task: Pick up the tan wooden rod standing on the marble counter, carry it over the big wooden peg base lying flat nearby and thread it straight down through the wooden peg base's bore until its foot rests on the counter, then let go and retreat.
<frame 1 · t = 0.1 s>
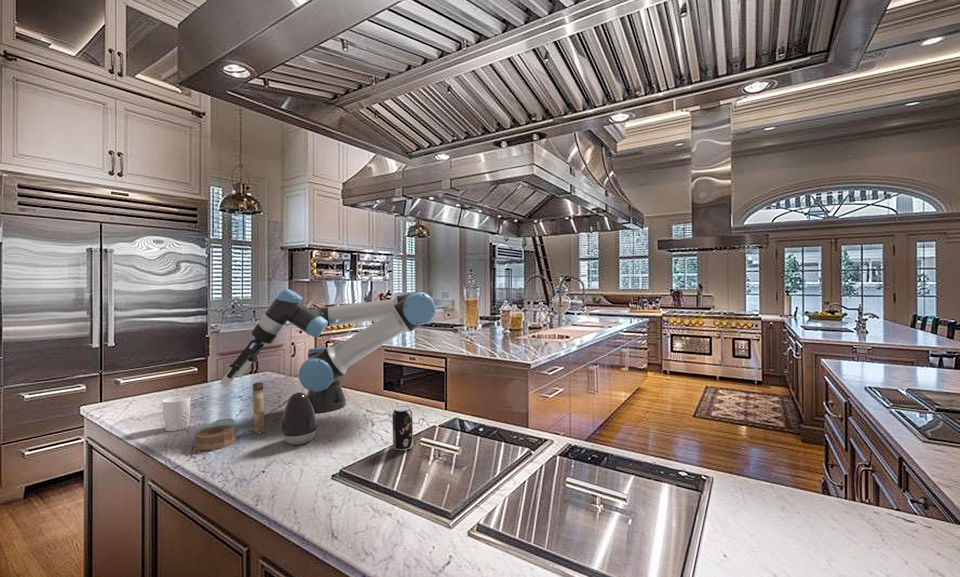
hand: (230, 380, 148), 15 cm above the counter, tool tilted 35°, fingers open, 13 cm apart
small bead: (223, 432, 141), on the counter
wooden peg base: (216, 444, 131), on the counter
tan wooden rod: (259, 431, 141), on the counter
black egg shaped speaker: (300, 442, 132), on the counter
beverage can: (403, 449, 125), on the counter
white cup: (177, 428, 146), on the counter
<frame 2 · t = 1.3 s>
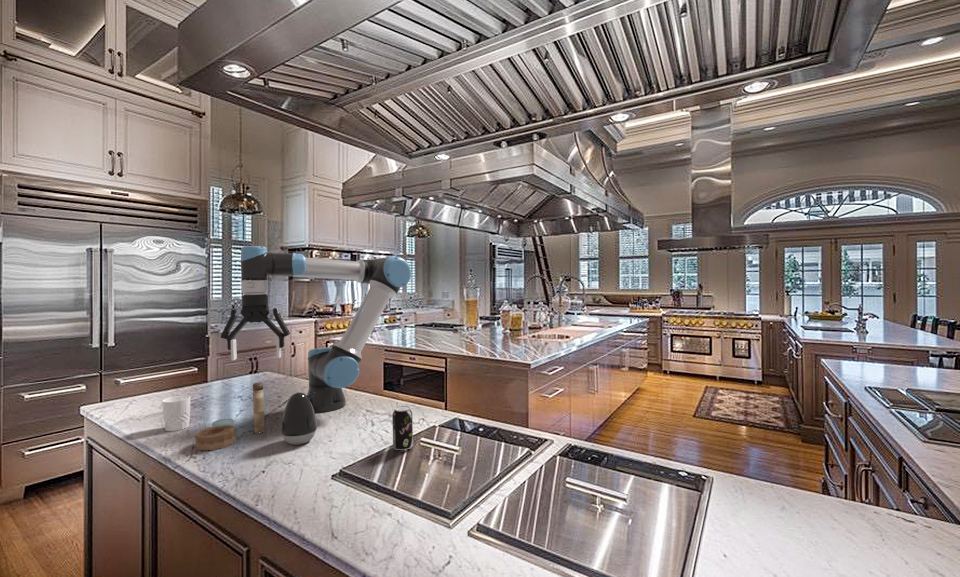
hand: (256, 358, 140), 24 cm above the counter, tool pointing down, fingers open, 13 cm apart
nothing on the counter moved.
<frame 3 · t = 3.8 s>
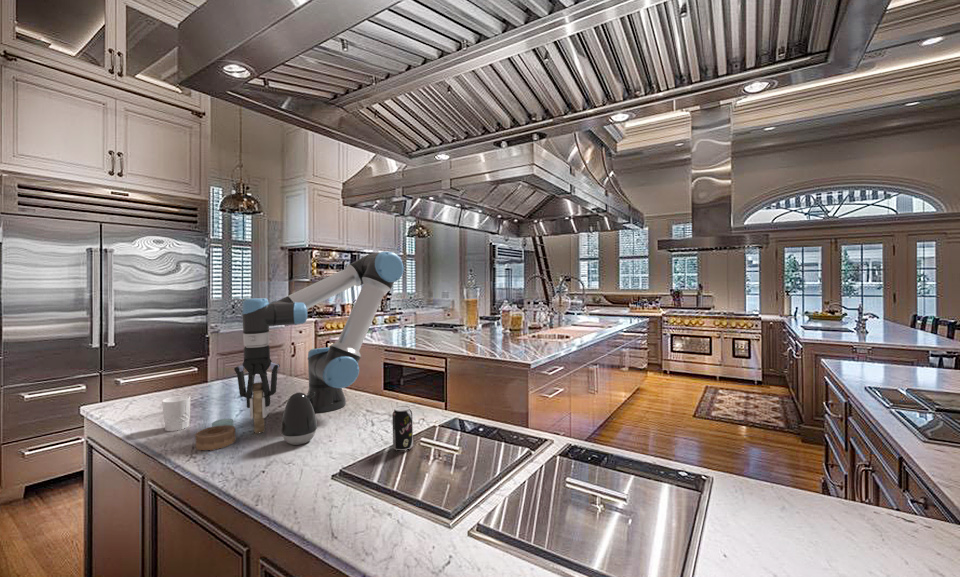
hand: (259, 416, 140), 5 cm above the counter, tool pointing down, fingers closed on tan wooden rod, 3 cm apart
tan wooden rod: (259, 431, 141), on the counter, touching gripper
everything else where it was.
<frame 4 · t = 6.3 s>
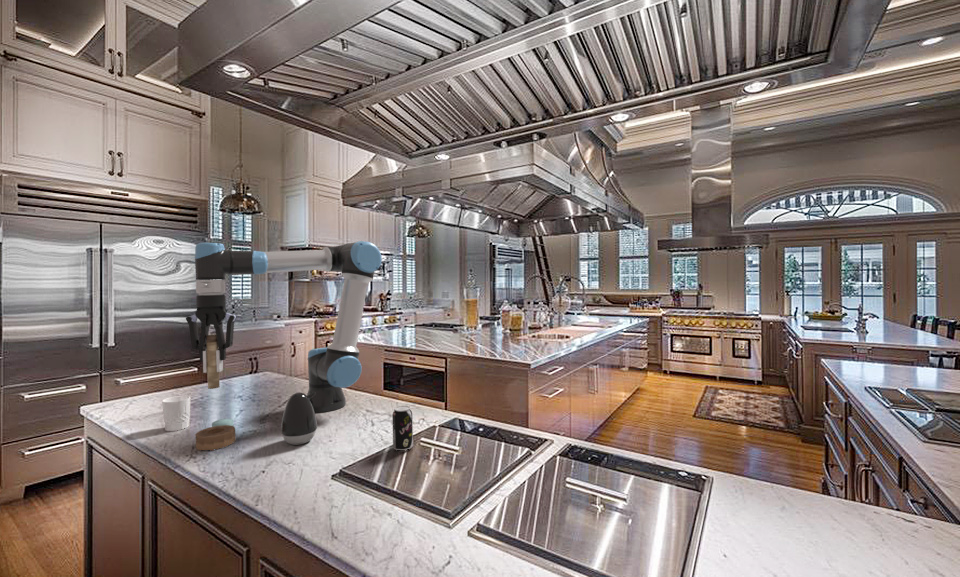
hand: (213, 371, 130), 22 cm above the counter, tool pointing down, fingers closed on tan wooden rod, 3 cm apart
tan wooden rod: (213, 387, 130), point 17 cm above the counter, touching gripper
everything else where it was.
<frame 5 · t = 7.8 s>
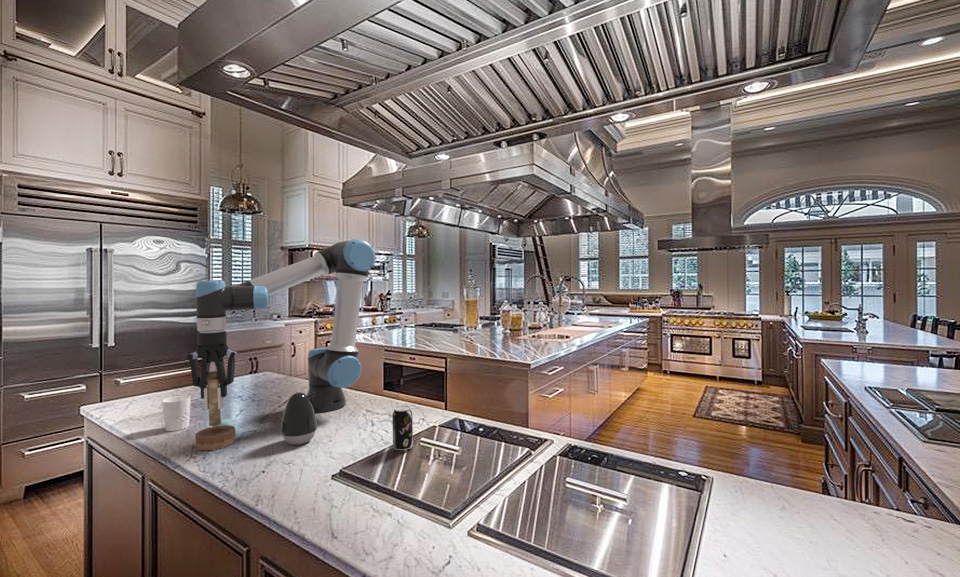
hand: (214, 407, 130), 11 cm above the counter, tool pointing down, fingers closed on tan wooden rod, 3 cm apart
tan wooden rod: (215, 424, 130), point 6 cm above the counter, touching gripper
everything else where it was.
when the fingers open (6 cm above the counter, at t = 9.0 s): tan wooden rod stays where it is, resting in wooden peg base.
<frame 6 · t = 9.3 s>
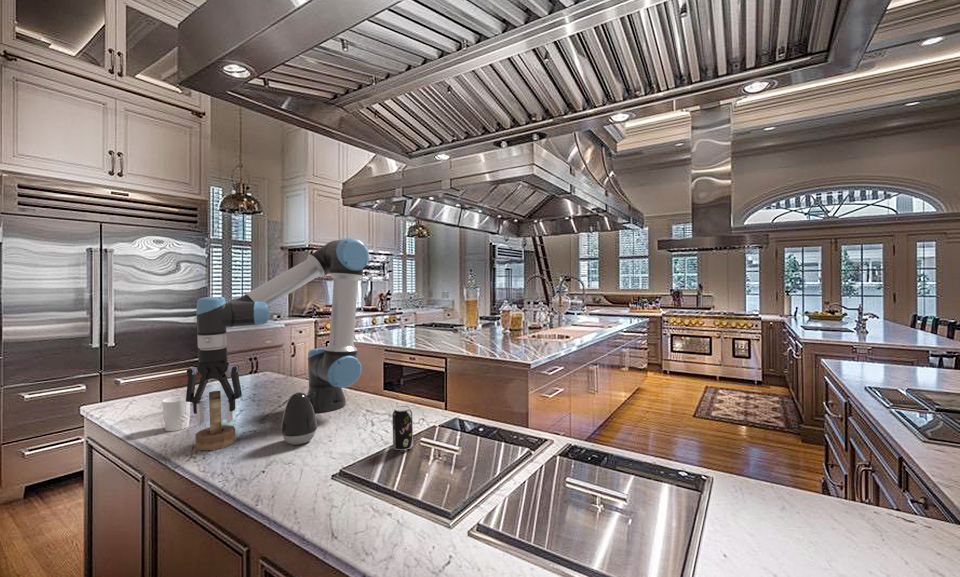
hand: (215, 422, 131), 7 cm above the counter, tool pointing down, fingers open, 7 cm apart
tan wooden rod: (216, 444, 131), resting in wooden peg base
everything else where it was.
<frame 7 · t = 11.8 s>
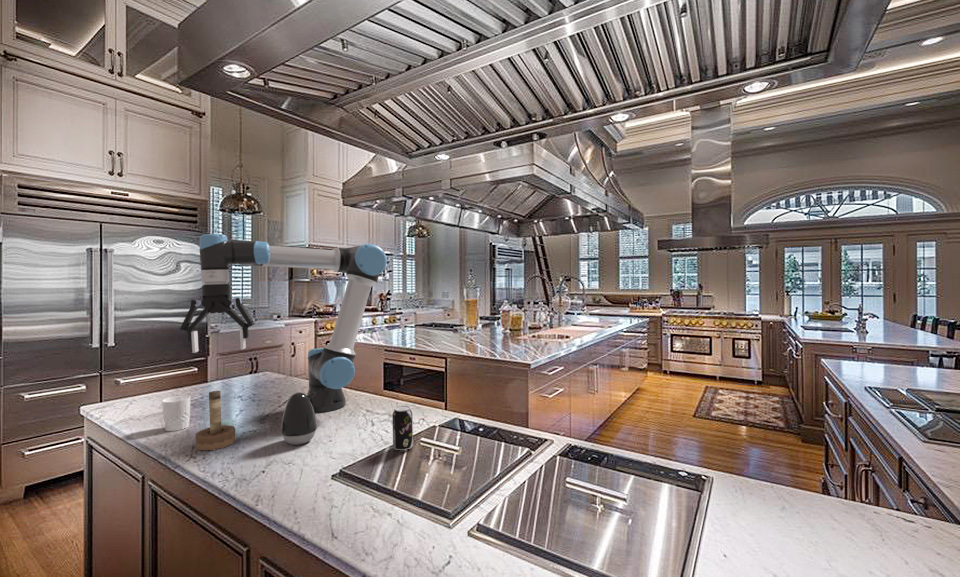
hand: (219, 350, 136), 28 cm above the counter, tool pointing down, fingers open, 13 cm apart
nothing on the counter moved.
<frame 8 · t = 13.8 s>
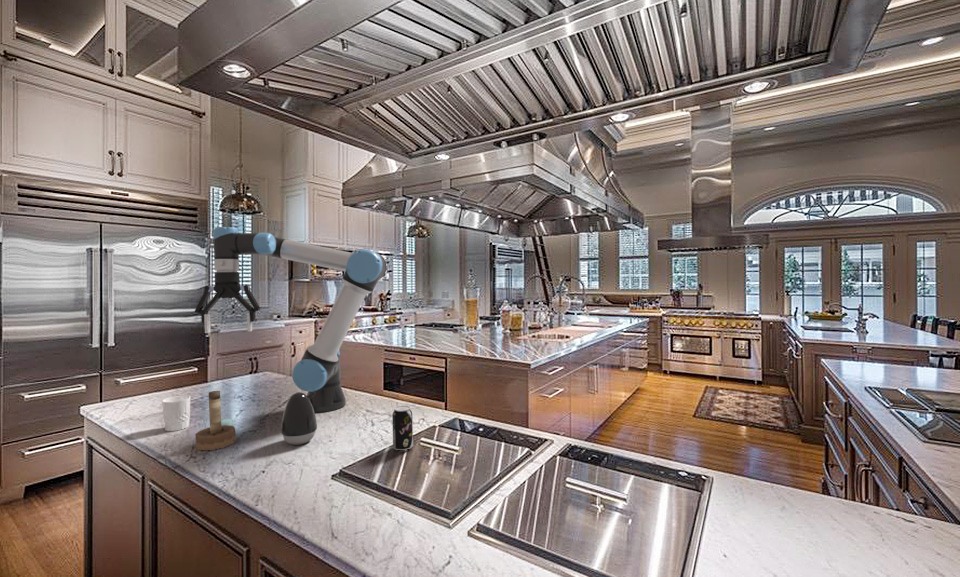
hand: (229, 332, 151), 32 cm above the counter, tool pointing down, fingers open, 13 cm apart
nothing on the counter moved.
at the end: tan wooden rod 0.1 cm off-centre on the wooden peg base, point 0.0 cm above the wooden peg base's base; tan wooden rod tilted 0°; the gripper is holding nothing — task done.
